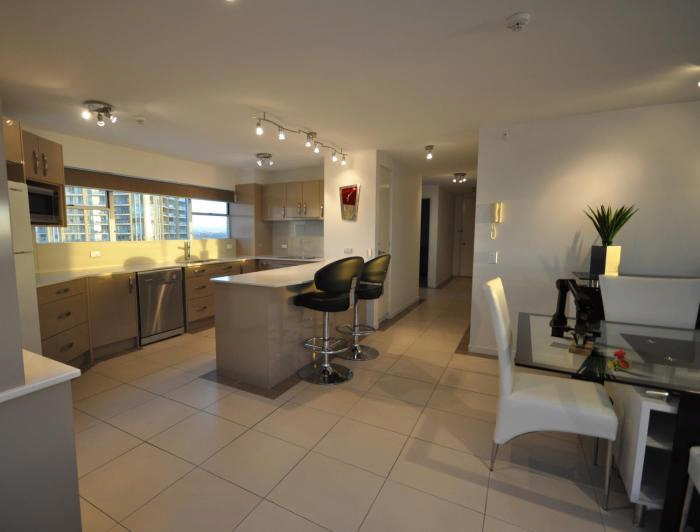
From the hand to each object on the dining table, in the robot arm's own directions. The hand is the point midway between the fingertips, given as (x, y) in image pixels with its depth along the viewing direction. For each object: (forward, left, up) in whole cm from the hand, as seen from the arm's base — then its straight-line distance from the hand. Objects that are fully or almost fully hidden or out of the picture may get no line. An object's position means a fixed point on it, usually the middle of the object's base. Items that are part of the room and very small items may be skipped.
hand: (580, 345), depth 194 cm
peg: (0, 0, -3) cm, 3 cm away
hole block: (0, +5, -4) cm, 6 cm away
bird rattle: (+19, -17, -4) cm, 26 cm away
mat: (-11, +5, -4) cm, 13 cm away
